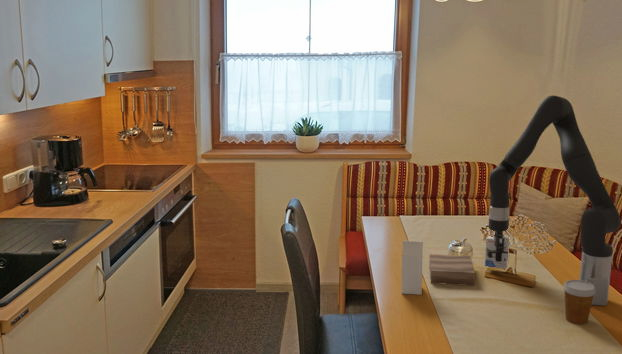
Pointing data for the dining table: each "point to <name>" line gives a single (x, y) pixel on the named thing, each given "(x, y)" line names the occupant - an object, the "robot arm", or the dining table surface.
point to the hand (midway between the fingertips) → (497, 258)
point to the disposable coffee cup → (578, 300)
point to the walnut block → (451, 269)
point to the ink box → (491, 253)
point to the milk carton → (412, 267)
